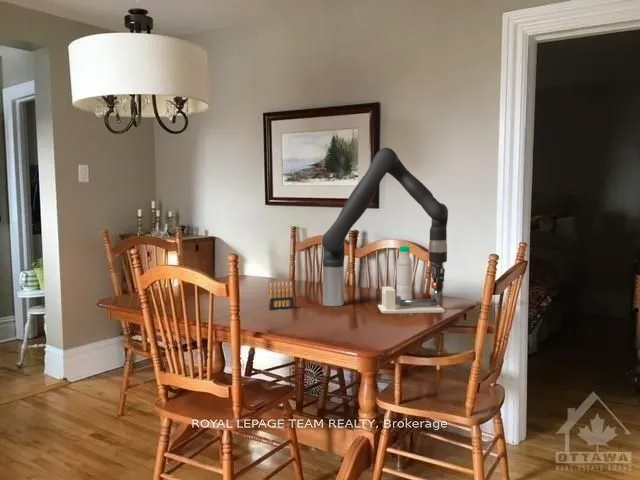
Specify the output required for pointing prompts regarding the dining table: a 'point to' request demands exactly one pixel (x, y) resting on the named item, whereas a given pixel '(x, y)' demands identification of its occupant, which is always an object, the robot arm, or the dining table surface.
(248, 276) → the dining table surface
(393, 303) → the cream l-shaped stand
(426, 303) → the ball knob lever
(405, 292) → the water bottle
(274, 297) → the ammunition clip
